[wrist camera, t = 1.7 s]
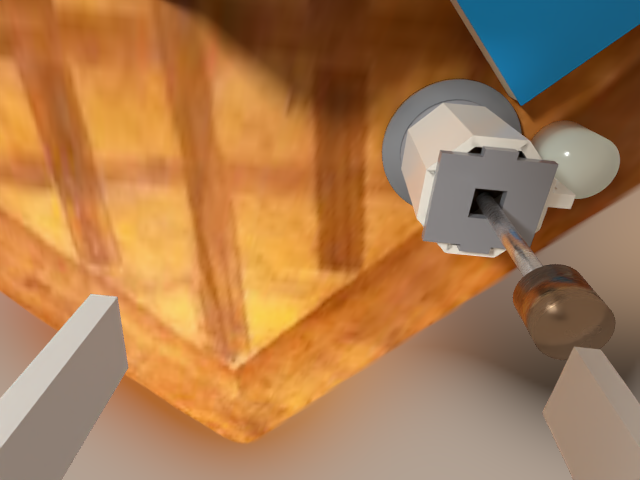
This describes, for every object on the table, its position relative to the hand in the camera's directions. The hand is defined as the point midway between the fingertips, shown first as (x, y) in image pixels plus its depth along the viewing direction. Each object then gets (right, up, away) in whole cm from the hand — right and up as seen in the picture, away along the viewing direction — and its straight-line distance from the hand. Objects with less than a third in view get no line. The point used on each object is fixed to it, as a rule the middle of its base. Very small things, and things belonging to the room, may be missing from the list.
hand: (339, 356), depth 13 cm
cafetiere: (+14, +12, +33) cm, 38 cm away
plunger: (+12, +7, +22) cm, 26 cm away
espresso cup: (+24, +13, +33) cm, 43 cm away
